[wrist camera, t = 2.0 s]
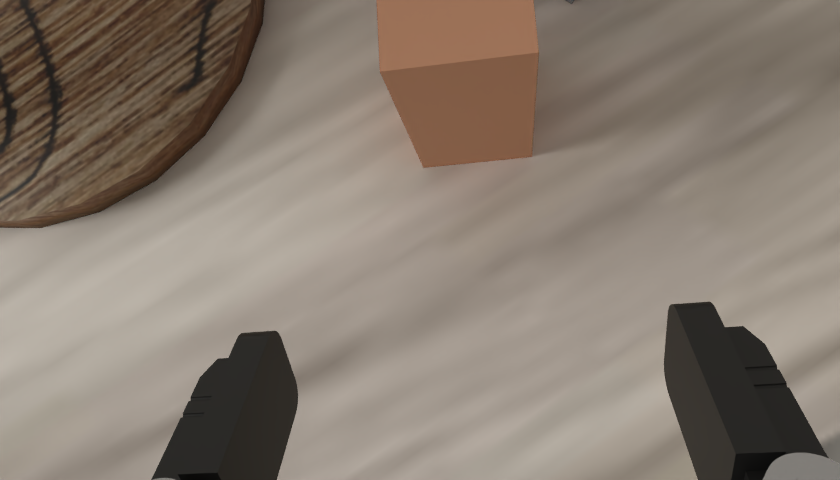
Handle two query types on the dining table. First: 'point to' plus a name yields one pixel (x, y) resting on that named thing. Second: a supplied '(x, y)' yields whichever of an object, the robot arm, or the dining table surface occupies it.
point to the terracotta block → (461, 76)
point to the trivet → (109, 96)
